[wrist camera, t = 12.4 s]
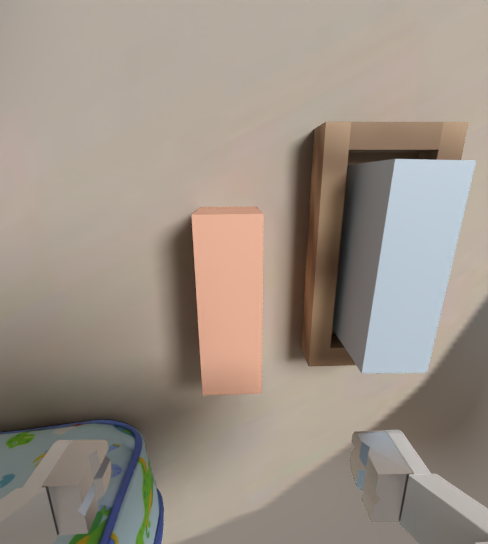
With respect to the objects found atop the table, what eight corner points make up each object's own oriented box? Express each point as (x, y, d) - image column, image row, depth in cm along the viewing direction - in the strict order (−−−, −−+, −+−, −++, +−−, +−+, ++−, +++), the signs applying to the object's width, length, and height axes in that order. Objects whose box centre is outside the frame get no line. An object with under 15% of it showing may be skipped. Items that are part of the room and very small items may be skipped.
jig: (314, 129, 20) (325, 121, 17) (439, 129, 20) (468, 121, 18) (301, 347, 25) (308, 366, 22) (401, 345, 25) (420, 363, 22)
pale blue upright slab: (348, 164, 20) (395, 158, 14) (406, 166, 20) (476, 160, 14) (330, 326, 24) (361, 373, 18) (380, 326, 24) (426, 372, 18)
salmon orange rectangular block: (200, 207, 21) (191, 214, 16) (256, 206, 21) (263, 213, 17) (208, 353, 25) (202, 395, 20) (256, 352, 25) (261, 393, 20)
